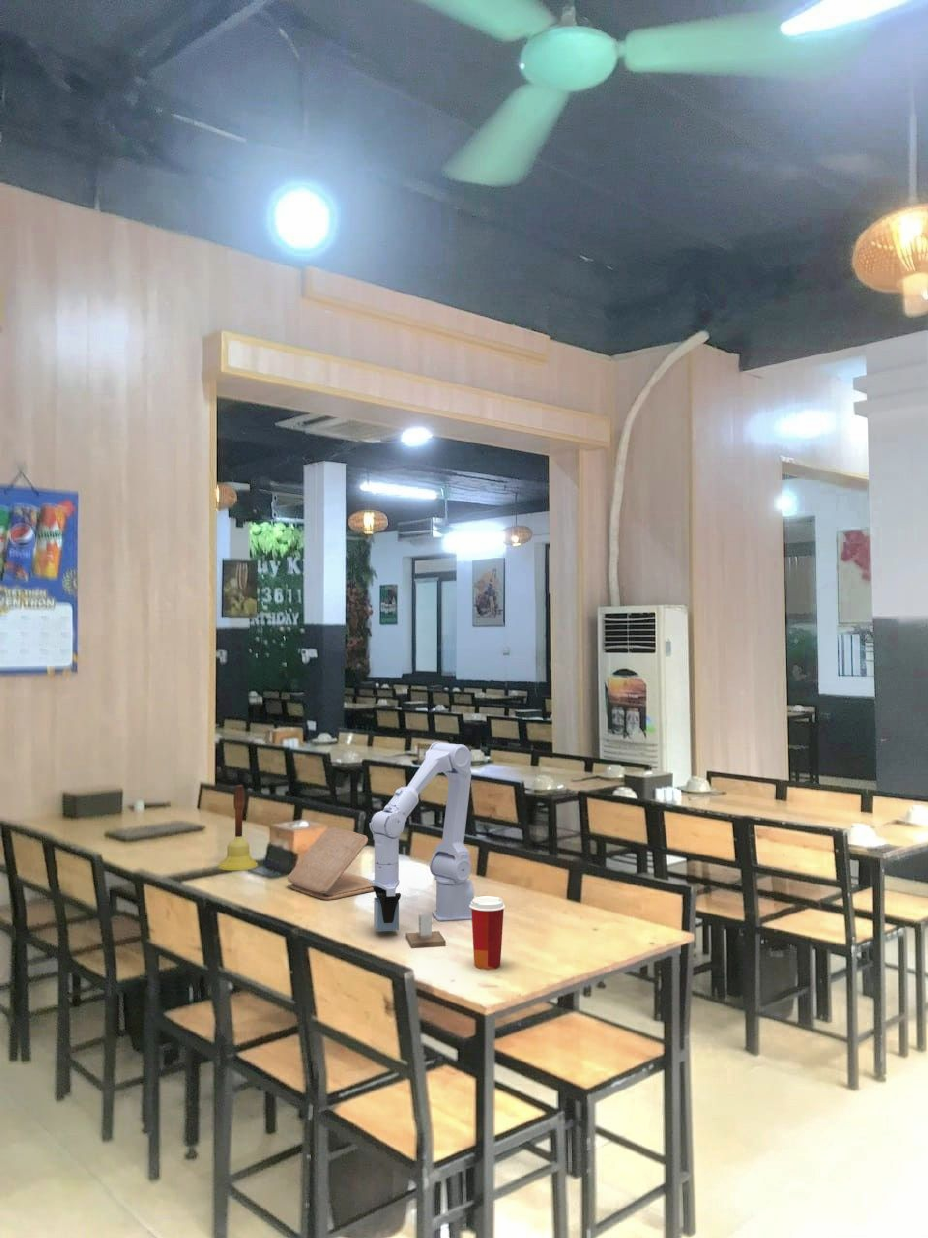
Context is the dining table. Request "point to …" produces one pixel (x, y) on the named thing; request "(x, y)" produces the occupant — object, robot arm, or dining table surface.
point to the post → (425, 926)
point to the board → (425, 940)
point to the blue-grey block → (378, 918)
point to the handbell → (238, 840)
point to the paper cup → (487, 931)
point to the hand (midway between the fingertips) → (386, 919)
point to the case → (331, 866)
